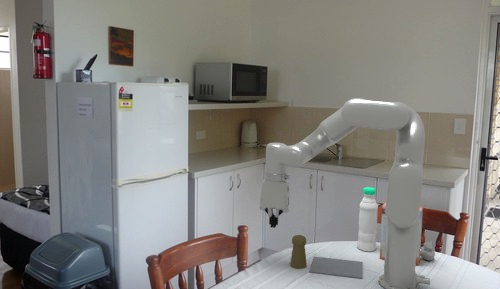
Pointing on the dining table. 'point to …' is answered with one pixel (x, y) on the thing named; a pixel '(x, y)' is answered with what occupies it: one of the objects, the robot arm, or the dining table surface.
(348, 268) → the rubber mat
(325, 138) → the robot arm
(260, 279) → the dining table surface
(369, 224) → the water bottle
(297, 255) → the cork
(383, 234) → the cracker box
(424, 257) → the rubber duck
